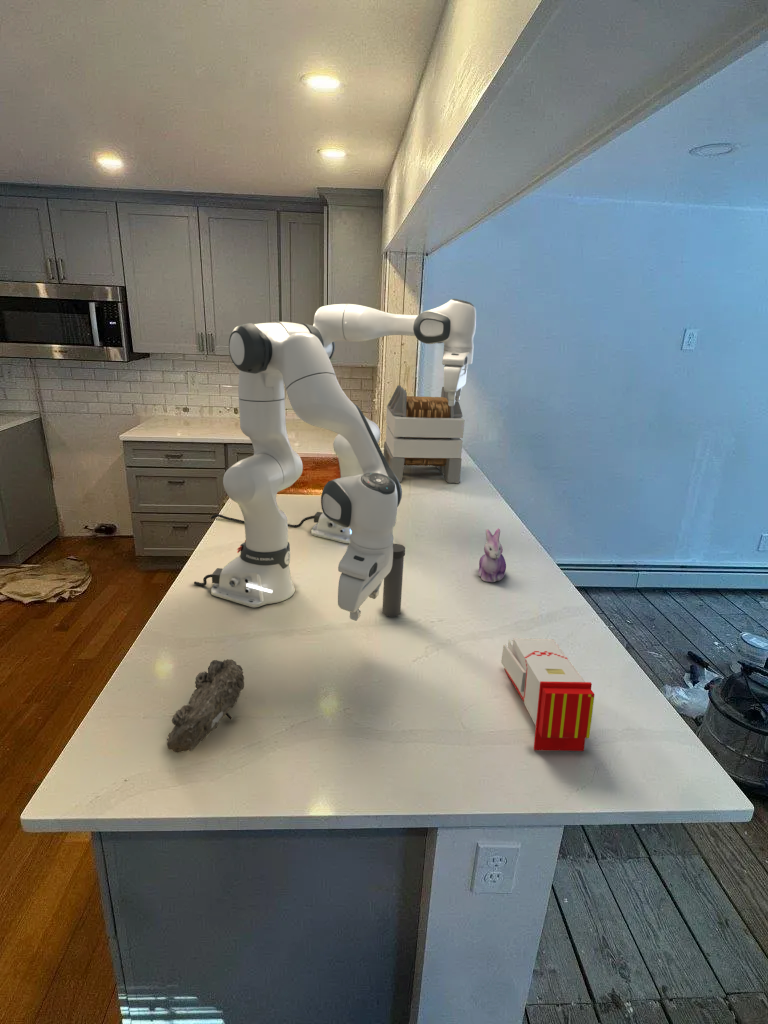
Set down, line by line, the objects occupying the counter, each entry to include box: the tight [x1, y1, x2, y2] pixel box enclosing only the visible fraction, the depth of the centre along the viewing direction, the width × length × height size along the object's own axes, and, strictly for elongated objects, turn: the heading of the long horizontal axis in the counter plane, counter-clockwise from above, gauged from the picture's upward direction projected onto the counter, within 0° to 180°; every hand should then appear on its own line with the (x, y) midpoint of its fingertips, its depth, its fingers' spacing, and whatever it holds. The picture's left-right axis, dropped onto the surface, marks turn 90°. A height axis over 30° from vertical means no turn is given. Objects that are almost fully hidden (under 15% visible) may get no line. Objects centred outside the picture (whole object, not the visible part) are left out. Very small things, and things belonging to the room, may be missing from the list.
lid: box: [393, 543, 406, 559], centre depth 142 cm, size 5×5×2 cm
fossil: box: [166, 658, 245, 754], centre depth 106 cm, size 22×10×15 cm
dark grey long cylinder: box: [381, 556, 405, 618], centre depth 145 cm, size 5×5×18 cm
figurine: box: [477, 527, 507, 583], centre depth 168 cm, size 9×10×15 cm
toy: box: [500, 637, 595, 752], centre depth 114 cm, size 12×13×30 cm
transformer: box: [383, 384, 465, 484], centre depth 268 cm, size 34×33×41 cm
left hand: (364, 607), depth 122 cm, fingers open, 8 cm apart
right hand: (454, 403), depth 174 cm, fingers open, 8 cm apart
